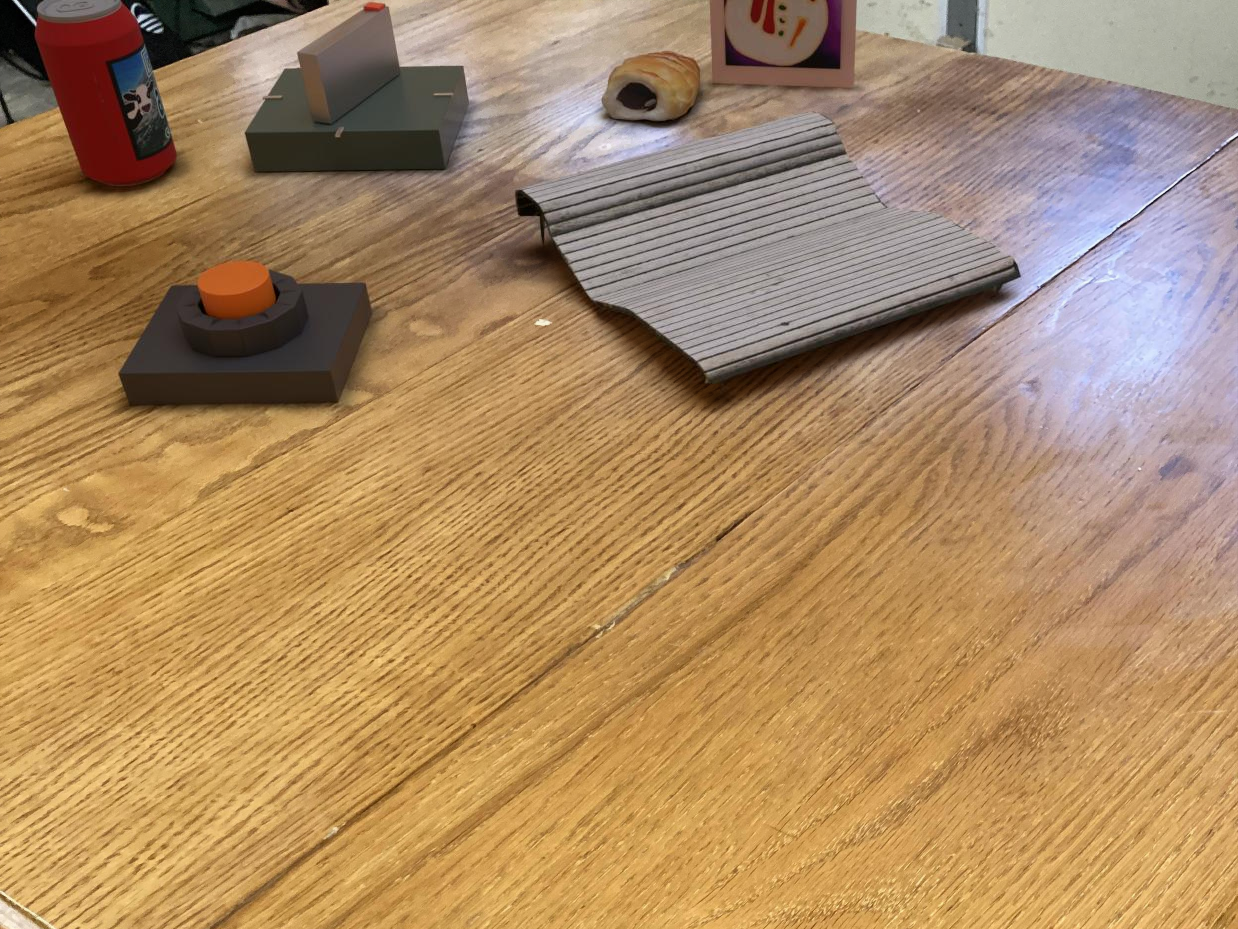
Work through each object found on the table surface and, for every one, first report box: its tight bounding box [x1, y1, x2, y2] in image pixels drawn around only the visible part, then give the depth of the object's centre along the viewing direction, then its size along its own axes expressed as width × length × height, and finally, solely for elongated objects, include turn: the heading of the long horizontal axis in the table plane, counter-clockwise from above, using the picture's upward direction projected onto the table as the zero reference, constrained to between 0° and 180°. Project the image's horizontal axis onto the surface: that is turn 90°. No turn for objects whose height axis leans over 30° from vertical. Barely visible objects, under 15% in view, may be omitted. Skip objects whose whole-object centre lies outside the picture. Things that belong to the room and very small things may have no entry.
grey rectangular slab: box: [296, 1, 401, 124], centre depth 105 cm, size 10×2×5 cm, turn 160°
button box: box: [117, 269, 373, 406], centre depth 84 cm, size 12×10×4 cm
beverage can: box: [34, 0, 178, 187], centre depth 100 cm, size 7×7×12 cm
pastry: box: [600, 50, 701, 122], centre depth 111 cm, size 9×7×4 cm
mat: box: [514, 111, 1022, 398], centre depth 90 cm, size 23×24×5 cm
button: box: [196, 260, 276, 319], centre depth 82 cm, size 4×4×2 cm
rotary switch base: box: [244, 65, 470, 173], centre depth 107 cm, size 14×14×3 cm
